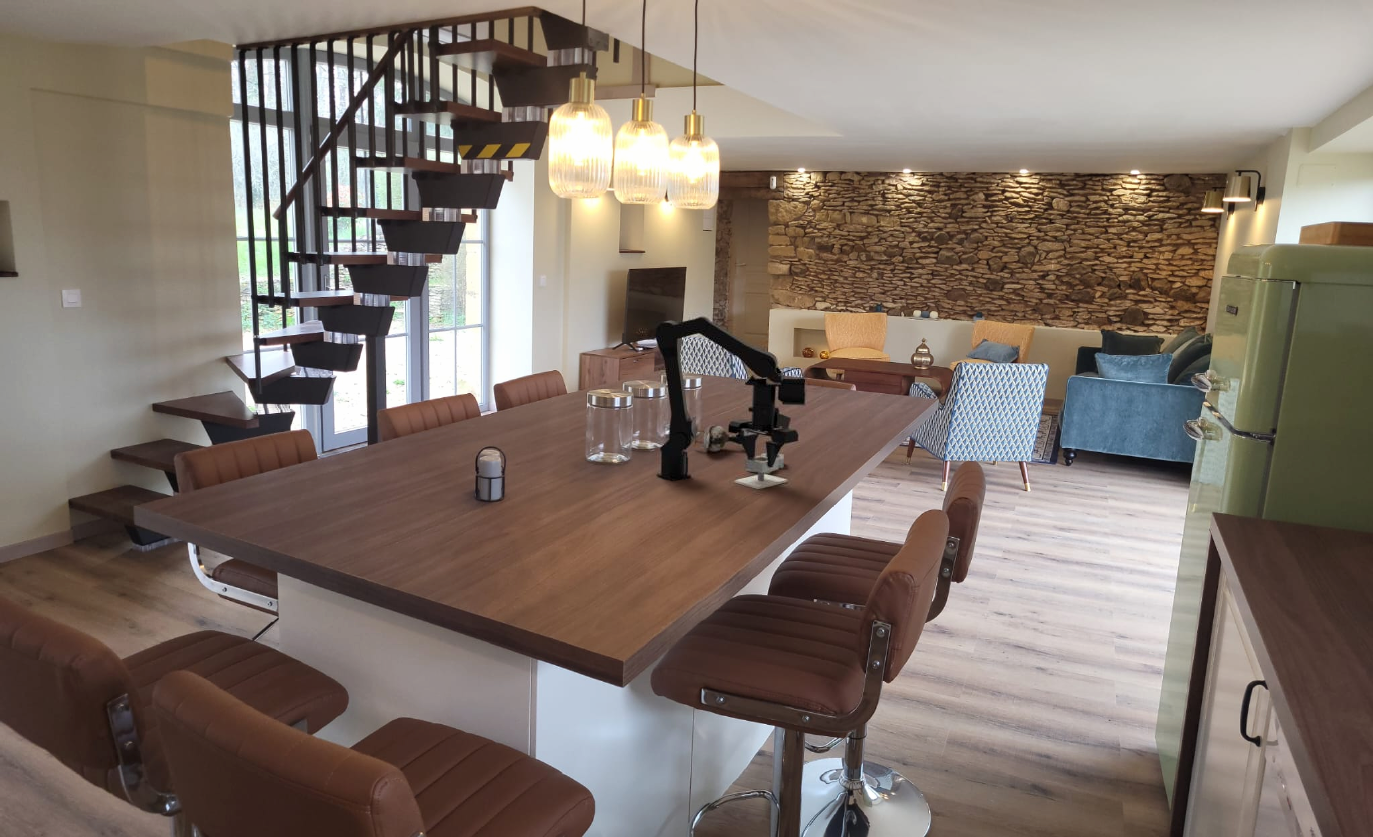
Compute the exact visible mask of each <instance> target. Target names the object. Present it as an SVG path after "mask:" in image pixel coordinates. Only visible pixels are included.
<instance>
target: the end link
mask: <svg viewBox="0 0 1373 837" xmlns="http://www.w3.org/2000/svg"><path fill="white" fill-rule="evenodd" d="M761 455H762V454H761ZM761 455H755V457H751V458H748V457H747V458H744V466H743V468H744V469H746V470H747V469H749V470H753V471H757V472H756V473H758V472H761V473H764V472H769V471H772V472H774V471H777V470H779V468H778V464H779V460H778V459H776V460H775V463H774V465H773V467H771V468H770V467H769V465H768V460H767V457H766V456H761ZM773 470H774V471H773ZM764 474H765V473H764Z"/></svg>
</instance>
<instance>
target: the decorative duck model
mask: <svg viewBox="0 0 1373 837" xmlns="http://www.w3.org/2000/svg"><path fill="white" fill-rule="evenodd" d="M698 426H699V425H698V424H696V428H697V430H698V432H699V433H700V432H701V433H702V432H703V433H704V434H703V441H698V440H697V436H696V437H695V440H694V441H693V446H694V447H695V446H696V444H703V447H704V448H703V449H704V450H705V451H707V452H718V451H720V450H722V449H723V447H725V444H726V443H727V442H731V443H735V444H737V445H742V444H741V442H740V440H739V438H738V437H736V435H735V436H733V435H730V434H727V432H726V430H725V429H724V428H723V427H722V426H720V425H717V424H716V425H715V424H712V425H709V426H707V428H706V429H705V430H700V429H699V428H698ZM698 432H697V433H698Z"/></svg>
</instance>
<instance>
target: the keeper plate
mask: <svg viewBox="0 0 1373 837" xmlns="http://www.w3.org/2000/svg"><path fill="white" fill-rule="evenodd" d="M784 483H788V479H786V478H783V477H778V476H775V475H770V474H766V473H761V472H757V474H755V475H752V476H747V477H744V478H739V479H734V484H738V485H742V486H745V487H749V488H753V489H756V490H760V489H764V488H768V487H772V486H777V485H781V484H784Z"/></svg>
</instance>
